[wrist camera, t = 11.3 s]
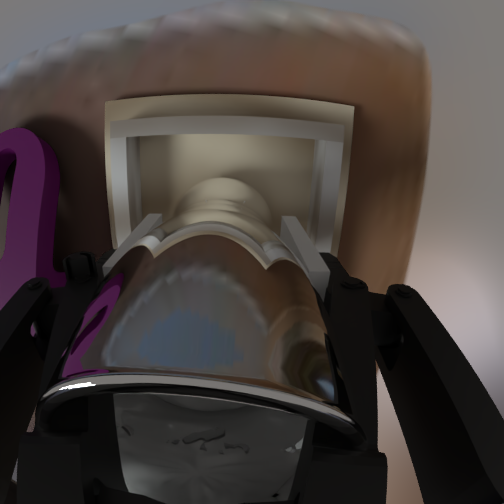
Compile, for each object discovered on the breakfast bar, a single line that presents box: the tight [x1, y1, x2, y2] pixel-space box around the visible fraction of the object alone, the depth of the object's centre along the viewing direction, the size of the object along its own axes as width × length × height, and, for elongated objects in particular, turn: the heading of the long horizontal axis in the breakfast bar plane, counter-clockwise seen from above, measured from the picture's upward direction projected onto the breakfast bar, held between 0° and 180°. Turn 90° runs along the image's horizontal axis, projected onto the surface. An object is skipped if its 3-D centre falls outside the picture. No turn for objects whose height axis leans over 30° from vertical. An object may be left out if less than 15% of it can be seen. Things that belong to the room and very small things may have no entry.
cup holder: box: [105, 94, 354, 258], centre depth 19 cm, size 16×16×4 cm
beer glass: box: [35, 177, 369, 504], centre depth 11 cm, size 7×7×15 cm
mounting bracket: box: [0, 128, 67, 336], centre depth 19 cm, size 10×8×18 cm
